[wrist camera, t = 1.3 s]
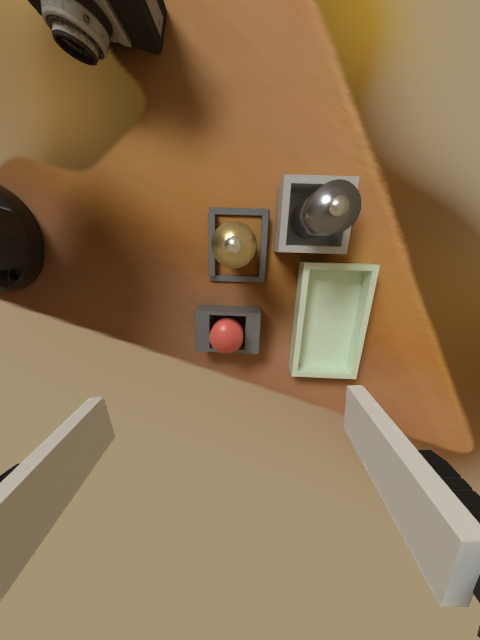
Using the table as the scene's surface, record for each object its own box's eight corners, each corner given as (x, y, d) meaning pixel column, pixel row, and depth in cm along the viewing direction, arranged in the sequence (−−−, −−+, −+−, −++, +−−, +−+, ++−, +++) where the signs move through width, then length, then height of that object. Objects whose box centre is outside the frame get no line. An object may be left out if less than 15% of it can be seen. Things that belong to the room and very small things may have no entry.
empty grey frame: (210, 280, 33) (209, 281, 32) (209, 207, 30) (208, 206, 29) (263, 282, 33) (264, 283, 32) (268, 209, 30) (269, 208, 29)
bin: (273, 251, 32) (278, 251, 27) (278, 186, 29) (284, 174, 25) (331, 253, 32) (346, 254, 27) (341, 188, 29) (359, 176, 24)
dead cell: (288, 238, 31) (310, 232, 20) (292, 201, 29) (317, 175, 19) (321, 239, 30) (360, 233, 20) (326, 202, 29) (370, 177, 19)
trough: (288, 367, 37) (291, 376, 34) (299, 261, 32) (304, 262, 29) (348, 369, 37) (356, 379, 34) (368, 263, 32) (379, 265, 29)
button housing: (200, 345, 36) (195, 355, 33) (199, 304, 34) (194, 310, 31) (257, 347, 36) (258, 357, 33) (259, 307, 34) (260, 313, 31)
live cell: (222, 262, 32) (210, 268, 22) (222, 229, 31) (209, 219, 21) (253, 263, 32) (255, 270, 22) (254, 230, 31) (258, 220, 21)
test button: (211, 346, 32) (209, 352, 31) (211, 317, 31) (209, 321, 29) (242, 348, 32) (242, 354, 30) (243, 318, 31) (243, 322, 29)
